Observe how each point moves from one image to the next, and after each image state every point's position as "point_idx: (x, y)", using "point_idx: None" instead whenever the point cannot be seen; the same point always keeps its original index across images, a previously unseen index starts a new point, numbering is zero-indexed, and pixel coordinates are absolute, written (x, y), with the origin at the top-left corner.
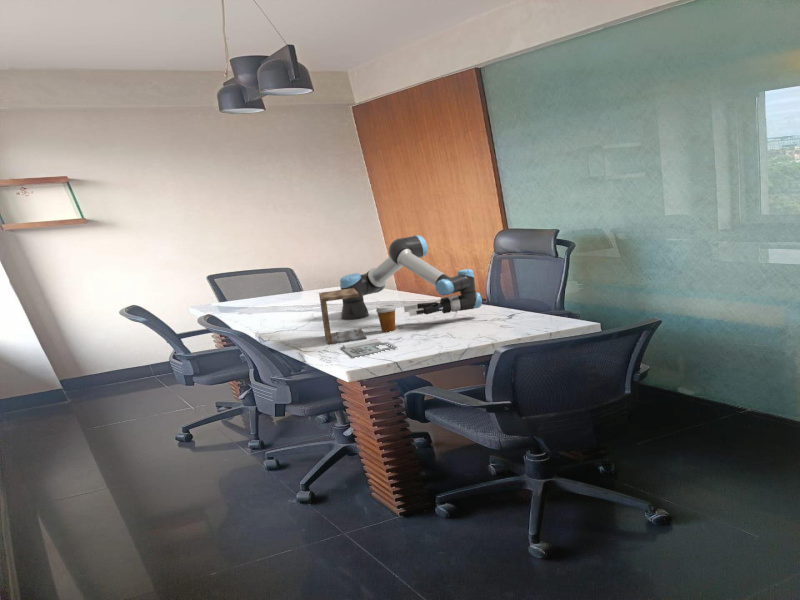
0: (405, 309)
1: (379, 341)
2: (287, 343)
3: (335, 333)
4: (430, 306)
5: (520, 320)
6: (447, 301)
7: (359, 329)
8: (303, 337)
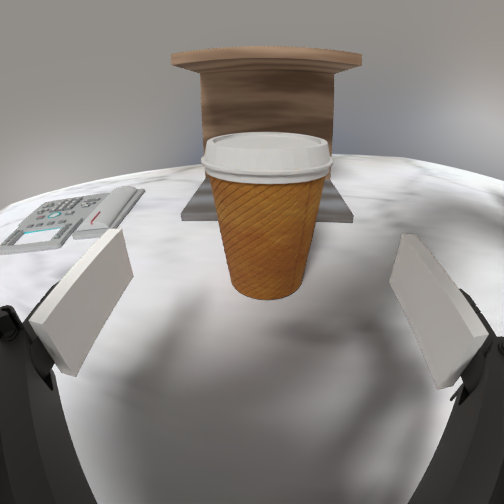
0: (397, 266)
1: (88, 233)
2: None
3: None
4: (43, 483)
5: None
6: None
7: (342, 212)
8: (341, 169)
